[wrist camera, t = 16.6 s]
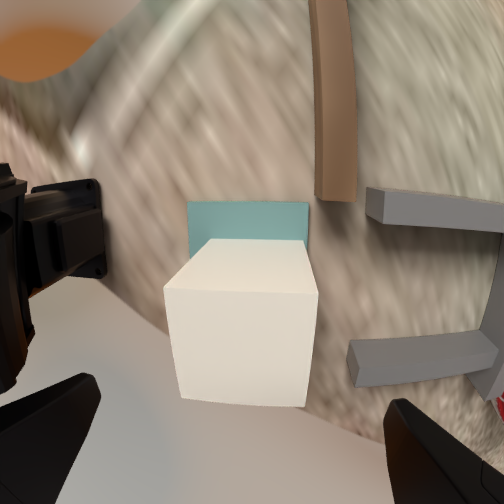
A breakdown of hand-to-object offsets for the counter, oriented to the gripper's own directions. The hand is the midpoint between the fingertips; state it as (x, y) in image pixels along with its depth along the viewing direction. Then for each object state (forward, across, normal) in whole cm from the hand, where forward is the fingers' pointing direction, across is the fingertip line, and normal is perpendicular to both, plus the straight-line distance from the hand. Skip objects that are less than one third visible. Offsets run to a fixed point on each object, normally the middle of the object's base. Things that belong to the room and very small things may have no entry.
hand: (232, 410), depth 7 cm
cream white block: (+10, 0, 0) cm, 10 cm away
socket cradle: (+10, -12, 0) cm, 16 cm away
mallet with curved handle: (+10, -4, -16) cm, 19 cm away
